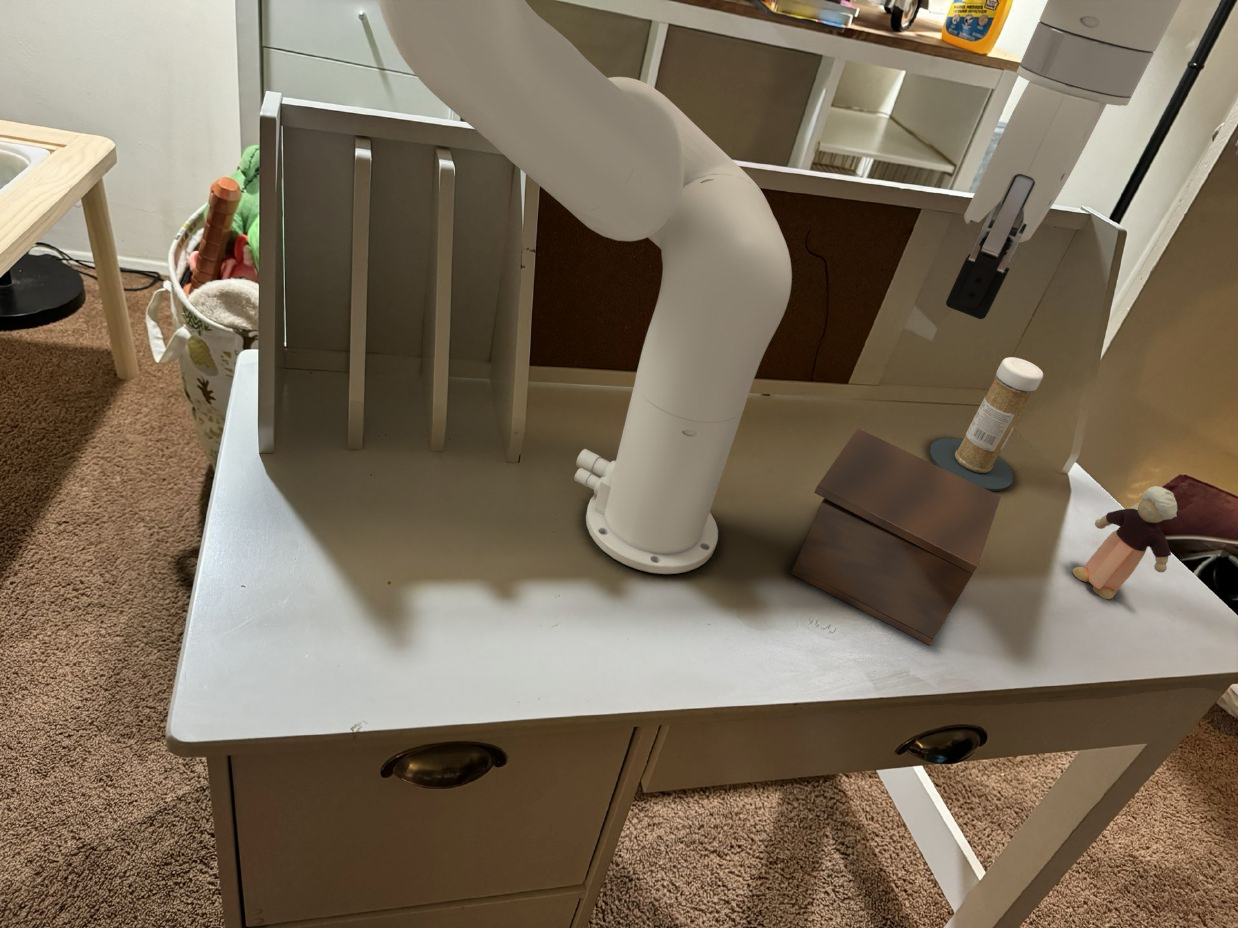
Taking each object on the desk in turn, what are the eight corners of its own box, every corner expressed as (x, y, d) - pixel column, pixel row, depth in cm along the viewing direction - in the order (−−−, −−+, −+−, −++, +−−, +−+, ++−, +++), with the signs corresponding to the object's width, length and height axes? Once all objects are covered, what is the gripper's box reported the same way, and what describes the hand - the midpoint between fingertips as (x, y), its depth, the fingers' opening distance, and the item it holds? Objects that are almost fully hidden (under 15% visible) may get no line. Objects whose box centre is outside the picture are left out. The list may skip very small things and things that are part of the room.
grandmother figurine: (1056, 569, 90) (1121, 473, 83) (1072, 557, 92) (1136, 463, 85) (1127, 618, 86) (1202, 521, 78) (1142, 604, 88) (1216, 508, 81)
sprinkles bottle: (998, 470, 103) (1053, 373, 95) (975, 478, 101) (1029, 379, 93) (968, 448, 106) (1018, 353, 98) (945, 455, 104) (995, 358, 96)
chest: (790, 573, 81) (821, 501, 76) (831, 510, 91) (861, 442, 85) (930, 645, 77) (972, 574, 72) (957, 571, 86) (997, 503, 81)
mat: (920, 465, 101) (922, 462, 101) (938, 430, 109) (940, 428, 109) (1005, 503, 98) (1006, 500, 98) (1017, 465, 106) (1019, 462, 106)
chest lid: (813, 493, 76) (817, 485, 75) (854, 434, 85) (857, 427, 85) (973, 573, 72) (977, 566, 71) (997, 503, 81) (1001, 496, 81)
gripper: (1039, 43, 65) (940, 268, 76) (1010, 58, 54) (897, 321, 64) (1142, 72, 63) (1025, 300, 74) (1134, 95, 52) (997, 360, 62)
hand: (966, 309), depth 69 cm, fingers closed
